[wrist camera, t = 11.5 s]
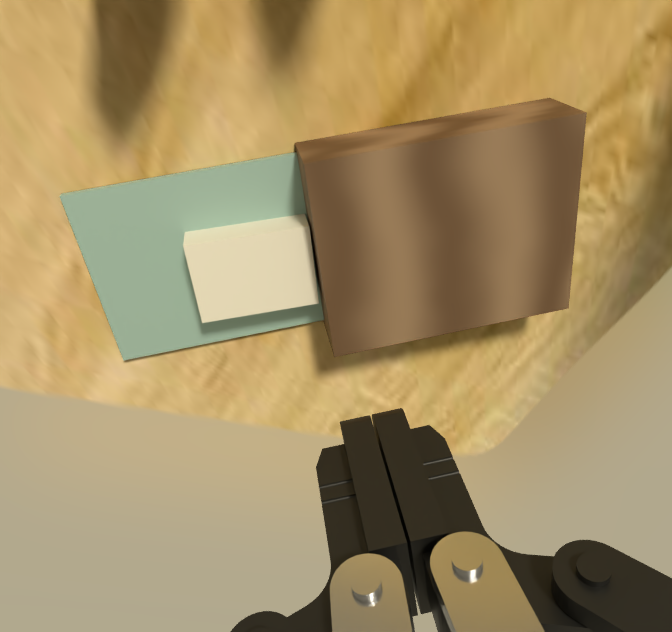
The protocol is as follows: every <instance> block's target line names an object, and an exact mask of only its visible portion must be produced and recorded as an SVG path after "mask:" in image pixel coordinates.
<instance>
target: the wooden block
mask: <svg viewBox="0 0 672 632" xmlns="http://www.w3.org/2000/svg"><path fill="white" fill-rule="evenodd" d="M586 114H587V113H586V112H583V111H581V110H578V109H576V108H574V107H571V106H569V105H566V104H564V103H561V102H559V101H556V100H554V99H551V98H547V99H541V100H536V101H530V102H524V103H519V104H513V105H507V106H502V107H496V108H490V109H485V110H479V111H473V112H468V113H462V114H456V115H451V116H445V117H440V118H434V119H428V120H423V121H417V122H411V123H406V124H400V125H394V126H389V127H383V128H377V129H372V130H366V131H360V132H355V133H349V134H343V135H338V136H332V137H326V138H321V139H315V140H310V141H304V142H298V143H295V148H296V153H297V157H298V163H299V169H300V175H301V181H302V187H303V193H304V200H305V206H306V212H307V218H308V224H309V228H310V236H311V243H312V249H313V255H314V261H315V267H316V273H317V279H318V285H319V292H320V298H321V304H322V310H323V316H324V324H325V327H326V331H327V334H328V337H329V341H330V344H331V347H332V350H333V354H334V357H337V356H341V355H346V354H351V353H356V352H361V351H366V350H370V349H375V348H380V347H385V346H390V345H394V344H399V343H404V342H409V341H414V340H418V339H423V338H428V337H433V336H438V335H442V334H447V333H452V332H457V331H462V330H466V329H471V328H476V327H481V326H486V325H490V324H495V323H500V322H505V321H510V320H515V319H519V318H524V317H529V316H534V315H539V314H543V313H548V312H553V311H558V310H563V309H567V308H569V297H570V286H571V275H572V264H573V254H574V243H575V232H576V221H577V211H578V200H579V189H580V178H581V167H582V157H583V146H584V135H585V124H586Z"/></svg>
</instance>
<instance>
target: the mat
mask: <svg viewBox="0 0 672 632" xmlns="http://www.w3.org/2000/svg"><path fill="white" fill-rule="evenodd" d="M60 199H61V201H62V204H63V206H64V209H65V211H66V214H67V217H68V219H69V222H70V224H71V227H72V229H73V232H74V234H75V237H76V240H77V242H78V245H79V247H80V250H81V252H82V255H83V258H84V260H85V263H86V265H87V268H88V270H89V273H90V275H91V278H92V281H93V283H94V286H95V288H96V291H97V293H98V296H99V298H100V301H101V304H102V306H103V309H104V311H105V314H106V316H107V319H108V322H109V324H110V327H111V329H112V332H113V334H114V337H115V339H116V342H117V345H118V347H119V350H120V352H121V355H122V357H123V360H128V359H133V358H138V357H143V356H148V355H153V354H158V353H163V352H168V351H173V350H178V349H183V348H188V347H192V346H197V345H202V344H207V343H212V342H217V341H222V340H227V339H232V338H237V337H242V336H247V335H252V334H257V333H262V332H267V331H271V330H276V329H281V328H286V327H291V326H296V325H301V324H306V323H311V322H316V321H321V320H324V316H323V310H322V304H321V298H320V292H319V285H318V279H317V273H316V267H315V261H314V268H315V276H316V284H317V292H318V300H319V303H318V304H312V305H307V306H301V307H295V308H289V309H283V310H277V311H271V312H265V313H259V314H253V315H247V316H241V317H236V318H230V319H224V320H218V321H212V322H206V323H202V320H201V316H200V312H199V308H198V304H197V300H196V296H195V292H194V288H193V284H192V280H191V276H190V272H189V268H188V264H187V260H186V256H185V252H184V248H183V243H184V234H185V232H188V231H195V230H201V229H208V228H215V227H221V226H228V225H234V224H241V223H247V222H254V221H260V220H267V219H273V218H280V217H286V216H293V215H299V214H305V216H306V219H307V221H308V218H307V212H306V206H305V200H304V193H303V187H302V181H301V175H300V169H299V163H298V157H297V153H296V152H293V153H288V154H282V155H276V156H271V157H265V158H260V159H254V160H248V161H243V162H237V163H231V164H226V165H220V166H215V167H209V168H203V169H198V170H192V171H187V172H181V173H175V174H170V175H164V176H159V177H153V178H147V179H142V180H136V181H130V182H125V183H119V184H114V185H108V186H102V187H97V188H91V189H86V190H80V191H74V192H69V193H63V194H61V195H60ZM311 244H312V243H311ZM312 252H313V249H312ZM313 260H314V255H313Z"/></svg>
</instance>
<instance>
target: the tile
mask: <svg viewBox="0 0 672 632" xmlns="http://www.w3.org/2000/svg"><path fill="white" fill-rule="evenodd" d="M183 248H184V252H185V256H186V260H187V264H188V268H189V272H190V276H191V280H192V284H193V288H194V292H195V296H196V300H197V304H198V308H199V312H200V316H201V320H202V323H206V322H212V321H218V320H224V319H230V318H236V317H241V316H247V315H253V314H259V313H265V312H271V311H277V310H283V309H289V308H295V307H301V306H307V305H312V304H318V303H319V300H318V292H317V284H316V276H315V268H314V260H313V252H312V244H311V236H310V228H309V224H308V221H307V219H306V216H305V214H299V215H293V216H286V217H280V218H273V219H267V220H260V221H254V222H247V223H241V224H234V225H228V226H221V227H215V228H208V229H201V230H195V231H188V232H185V234H184V243H183Z"/></svg>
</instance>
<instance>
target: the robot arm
mask: <svg viewBox="0 0 672 632" xmlns="http://www.w3.org/2000/svg"><path fill="white" fill-rule="evenodd" d="M372 420H373V424H372V421H371V417H370V415H369V416H364V417H359V418H355V419H350V420H346V421H341V422H340V425H341V430H342V435H343V440H344V444H342V445H338V446H333V447H329V448H324V449H322V452H321V455H320V457H319V461H318V463H317V466H316V470H317V476H318V483H319V488H320V495H321V501H322V508H323V515H324V521H325V527H326V534H327V541H328V547H329V553H330V560H331V572H330V577H329V580H328V582H327V584H326V586H325V588H324V589H323V591H322V592H321V594H320V595H319V596H318V597H317V598H316V599H315V600H314V601H313V602H311V603H310V604H308V605H307V606H305V607H304V608H302V609H301V610H299V611H297V612H295V613H294V614H292V615H290V616H289V617H285V616H284V615H282V614H280V613H277V612H272V611H263V612H258V613H255V614H252V615H250V616H248V617H246V618H245V619H243V620H242V621H240V622H239V623H238V624H237V625H236V626H235V627H234V628H233V629H232V631H231V632H415V631H414V624H413V618H412V616H416V615H418V613H417V607H416V600H415V594H416V598H417V602H418V605H419V609H420V612H421V614H424V613H428V612H432V613H433V617H434V620H435V623H436V627H437V630H438V632H672V578H670V577H668V576H666V575H664V574H662V573H660V572H658V571H657V570H655V569H653V568H651V567H649V566H647V565H645V564H643V563H641V562H639V561H637V560H635V559H633V558H631V557H630V556H627V555H625V554H624V553H622V552H620V551H618V550H616V549H614V548H612V547H610V546H608V545H606V544H603V543H600V542H597V541H591V540H577V541H573V542H570V543H567V544H565V545H564V546H562V547H561V548H560V549H559V550H558V551H557V552H556V554H555V556H554V557H553V556H540V555H539V556H538V555H527V554H520V553H516V552H513V551H510V550H508V549H505V548H504V547H502V546H500V545H499V544H497V543H496V542H495V541H494V540H492V538H491V537H490V536H489V535H488V534H487V533H486V531H485V530H484V528H483V526H482V523H481V521H480V519H479V517H478V514H477V512H476V509H475V507H474V505H473V503H472V500H471V498H470V496H469V493H468V491H467V489H466V486H465V484H464V482H463V479H462V477H461V475H460V474H459V470H458V468H457V466H456V463H455V461H454V460H453V457H452V454H451V452H450V449H449V447H448V445H447V442H446V440H445V438H444V437H442V436H441V435H440V434H439V433H438V432H437V431H436V430H434V429H433V428H432V427H431V426H430V425H427V426H423V427H418V428H414V429H410V427H409V424H408V421H407V419H406V416H405V413H404V411H403V409H402V408H400V409H395V410H391V411H386V412H382V413H377V414H372ZM373 426H374V427H373ZM414 591H415V593H414Z"/></svg>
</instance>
